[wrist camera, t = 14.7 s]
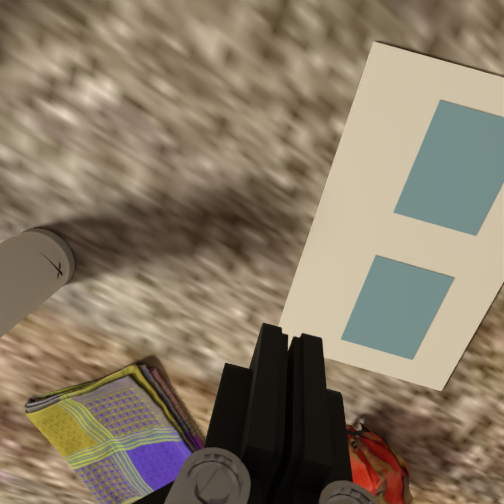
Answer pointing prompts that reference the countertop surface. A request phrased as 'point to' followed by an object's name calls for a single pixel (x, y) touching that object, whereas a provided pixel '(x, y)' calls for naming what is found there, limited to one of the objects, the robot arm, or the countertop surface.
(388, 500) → the dragon fruit
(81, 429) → the dish towel
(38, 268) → the travel mug
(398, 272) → the placemat
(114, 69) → the countertop surface
